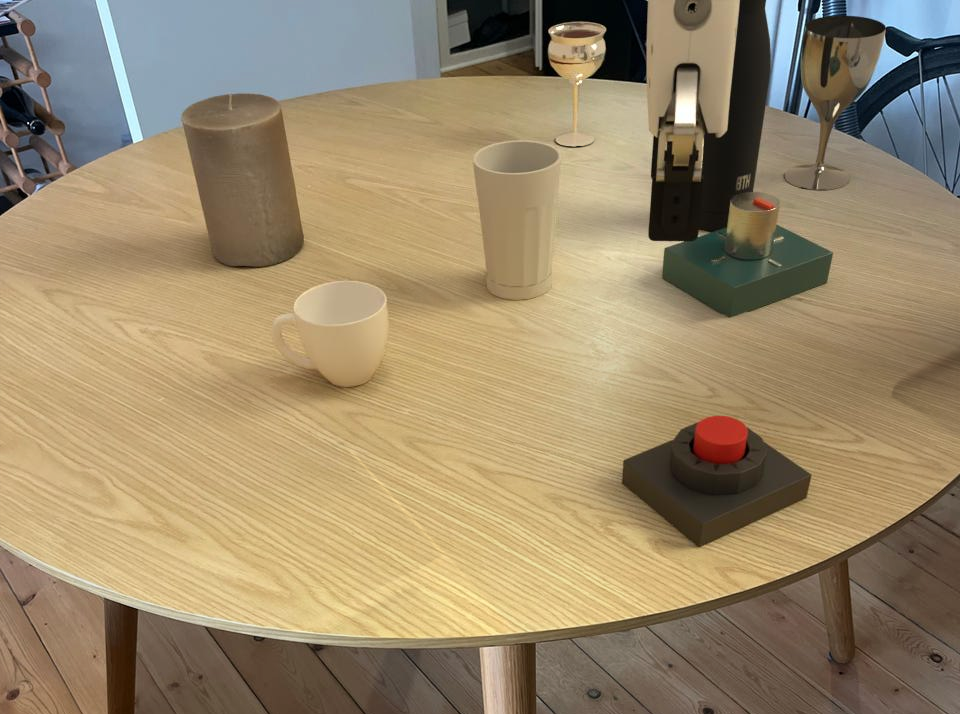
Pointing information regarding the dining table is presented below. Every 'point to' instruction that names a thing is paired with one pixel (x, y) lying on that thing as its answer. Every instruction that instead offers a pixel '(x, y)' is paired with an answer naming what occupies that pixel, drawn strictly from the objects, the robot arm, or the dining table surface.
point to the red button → (720, 440)
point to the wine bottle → (738, 120)
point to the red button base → (714, 486)
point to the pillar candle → (244, 178)
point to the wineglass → (576, 61)
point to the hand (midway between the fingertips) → (672, 208)
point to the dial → (751, 225)
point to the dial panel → (745, 271)
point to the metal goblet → (835, 83)
